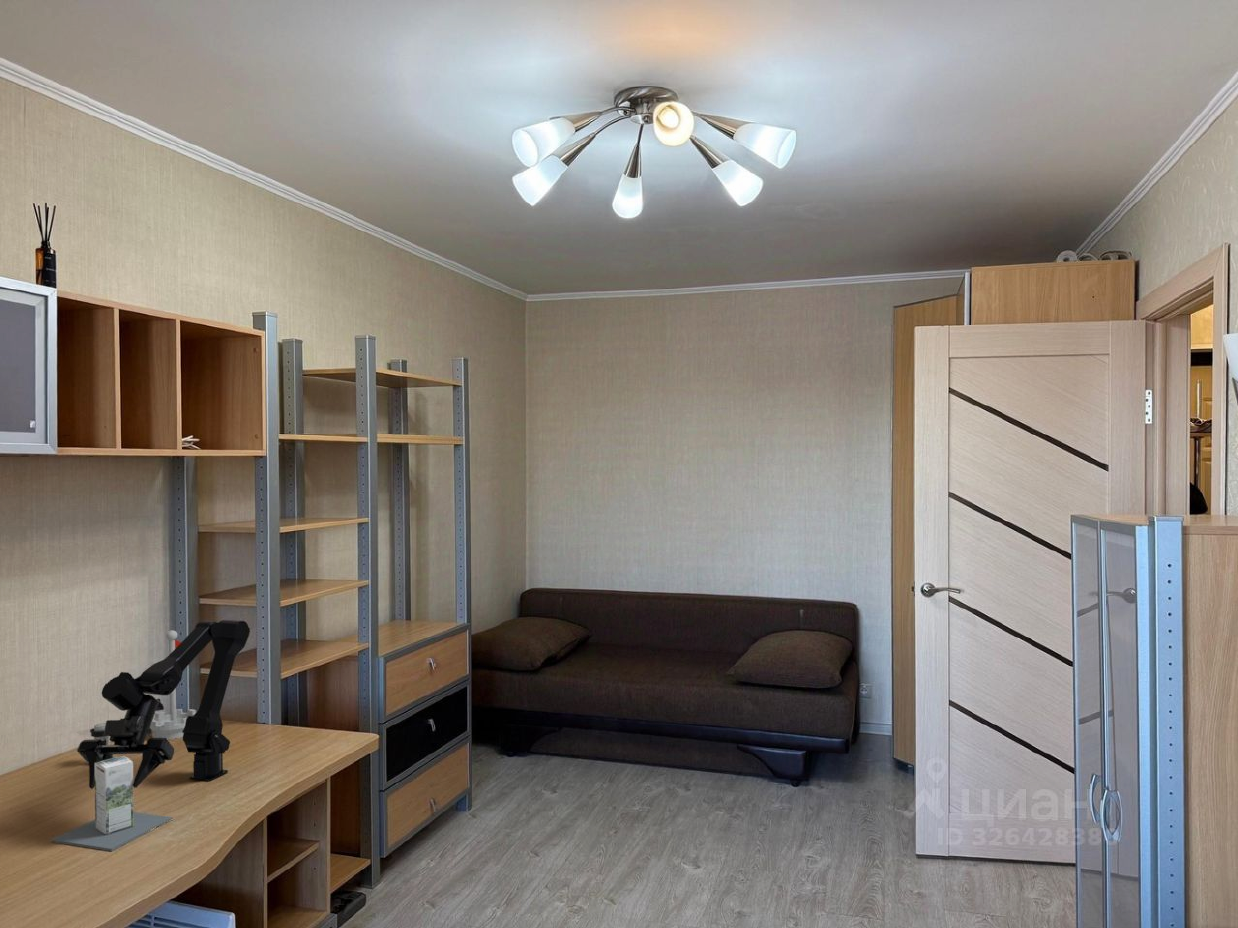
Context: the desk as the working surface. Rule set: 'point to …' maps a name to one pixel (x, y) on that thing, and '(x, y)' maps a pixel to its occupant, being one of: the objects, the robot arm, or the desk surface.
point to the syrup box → (114, 794)
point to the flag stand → (176, 720)
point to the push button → (101, 736)
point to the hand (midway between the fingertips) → (112, 787)
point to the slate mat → (110, 842)
